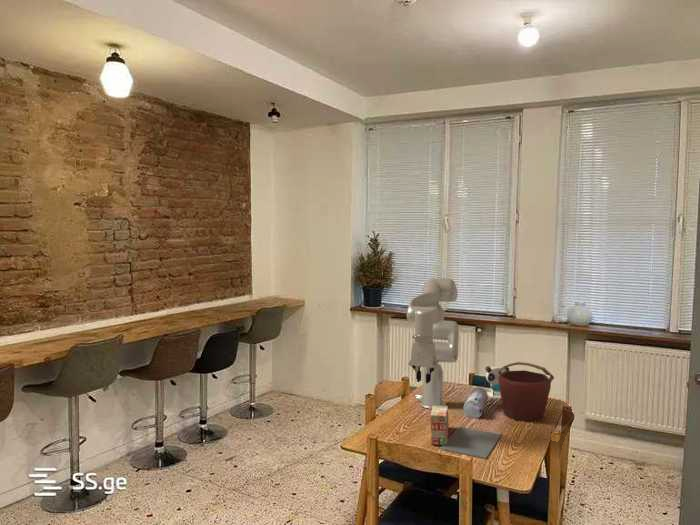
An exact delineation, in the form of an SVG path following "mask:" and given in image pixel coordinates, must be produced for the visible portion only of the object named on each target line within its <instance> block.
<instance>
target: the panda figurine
mask: <svg viewBox="0 0 700 525" xmlns="http://www.w3.org/2000/svg"><path fill="white" fill-rule="evenodd" d="M502 367H503V366H497V365H496V366H492V367H490V366H487V365H486V366H485V368H484V369H485V371H486V374H485V378H486V381H487V382H488V383H489V384H490V391H486V392H487V395H488V397H489V398H493V399H500V398H501V393H500V387H499V374H498V371H499V370H500V369H501V368H502ZM504 371H510V368H509V367H507V368H504V369H502V370H501V371H500V372H501V373H503V372H504ZM501 399H502V398H501Z"/></svg>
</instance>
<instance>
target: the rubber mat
mask: <svg viewBox="0 0 700 525" xmlns="http://www.w3.org/2000/svg"><path fill="white" fill-rule="evenodd" d="M501 436H502V434H501V433H496V432H491V431H485V430H479V429H474V428H470V427H464V426H458V427H457V429H456V430H455V431H454V432H453V433H452V434H451V436H449V437H448V442H447V445H441V447H440V448H439V450H440V449H444V450H448V451H447V452H449V451H452V452H451V453H454V452H456V453H455V454H459V455H463V454H464V455H465V456H470V457H473V458H477V457H478V459H483V460H486V459H487V458H488V457H489V455H490V453H491V452H492V451H493V449H494V447H495V446H496V444H497V443H498V441H499V439H500V438H502V437H501ZM444 450H443V451H444ZM464 455H463V456H464Z"/></svg>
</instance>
